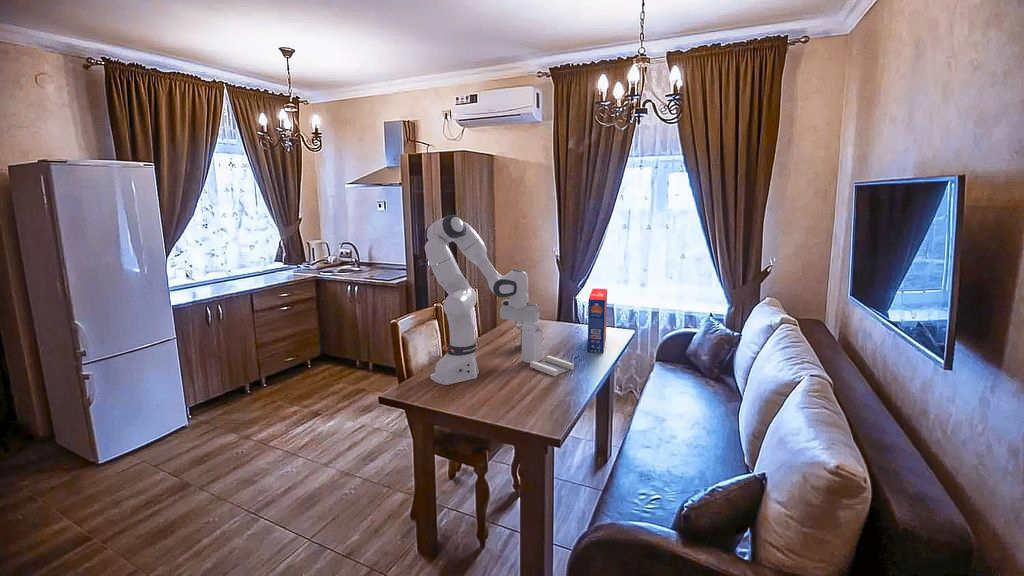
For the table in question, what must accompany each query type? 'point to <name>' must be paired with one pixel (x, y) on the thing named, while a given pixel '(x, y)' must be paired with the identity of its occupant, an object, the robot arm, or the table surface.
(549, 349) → the table surface
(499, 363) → the table surface
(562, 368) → the cradle
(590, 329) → the pasta box
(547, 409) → the table surface
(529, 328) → the milk carton
